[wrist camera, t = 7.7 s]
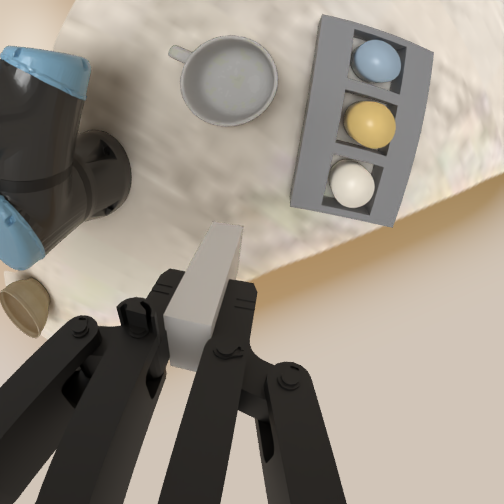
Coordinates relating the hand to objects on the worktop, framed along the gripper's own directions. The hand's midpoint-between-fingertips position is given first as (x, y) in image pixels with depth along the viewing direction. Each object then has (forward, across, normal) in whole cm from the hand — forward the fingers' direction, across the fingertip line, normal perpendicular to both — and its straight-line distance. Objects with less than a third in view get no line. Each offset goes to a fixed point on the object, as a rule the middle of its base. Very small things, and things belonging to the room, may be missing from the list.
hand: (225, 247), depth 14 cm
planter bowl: (+27, -57, -41) cm, 75 cm away
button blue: (+26, +12, +16) cm, 32 cm away
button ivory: (+26, +12, -2) cm, 28 cm away
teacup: (+27, -6, +10) cm, 29 cm away
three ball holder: (+26, +12, +7) cm, 30 cm away
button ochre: (+24, +12, +7) cm, 28 cm away
